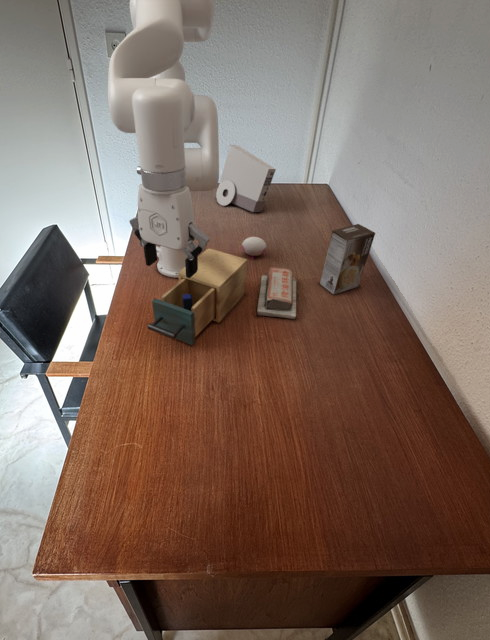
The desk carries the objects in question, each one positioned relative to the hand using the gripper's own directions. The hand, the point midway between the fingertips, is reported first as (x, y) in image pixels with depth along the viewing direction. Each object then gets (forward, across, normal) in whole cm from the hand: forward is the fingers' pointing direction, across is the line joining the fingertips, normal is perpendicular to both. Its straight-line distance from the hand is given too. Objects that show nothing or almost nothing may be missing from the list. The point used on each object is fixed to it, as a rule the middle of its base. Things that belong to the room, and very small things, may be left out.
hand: (171, 268), depth 75 cm
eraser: (+17, 0, +6) cm, 18 cm away
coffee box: (+19, +27, +43) cm, 54 cm away
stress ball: (+18, -2, +47) cm, 51 cm away
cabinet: (+18, 0, +18) cm, 26 cm away
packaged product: (+19, +14, +28) cm, 37 cm away
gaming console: (+18, -22, +79) cm, 84 cm away
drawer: (+18, 0, +4) cm, 18 cm away
